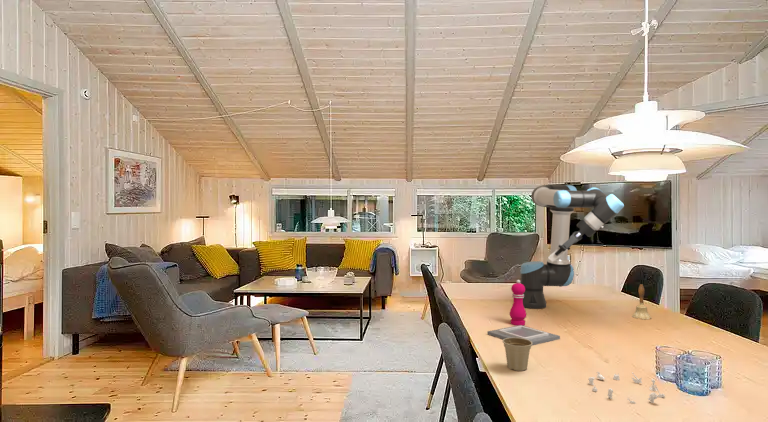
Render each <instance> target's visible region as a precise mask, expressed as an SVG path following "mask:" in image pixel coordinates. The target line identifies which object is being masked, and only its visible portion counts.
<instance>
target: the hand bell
mask: <svg viewBox="0 0 768 422" xmlns="http://www.w3.org/2000/svg"><path fill="white" fill-rule="evenodd" d="M637 290H638V291H637V292H638V297H639V304H638V305H636V307H635V311H634V313H633V314H631V317H632V318H634V317H635V318H634V319H637V318H642V319H641V320H650V319H649V318H651V319H652V316H651V315H650V314H649V311H648V306H646V305H644V296H645V287H644V284H643V283H640V284H639V287H638V289H637Z"/></svg>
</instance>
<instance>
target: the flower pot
mask: <svg viewBox="0 0 768 422" xmlns="http://www.w3.org/2000/svg"><path fill="white" fill-rule="evenodd" d="M502 343H503V346H504V350H505V358H506V365H507V366H506V367H507V368H508V369H509V370H514V371H515V372H516V371H519V372H521V371H526V370H527V369H528V364H529V358H530V350H531V349H532V346H533V345H532V344H533V343H532V342H531V341H530V340H527V339H523V338H506V339H502ZM531 345H532V346H531Z"/></svg>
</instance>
